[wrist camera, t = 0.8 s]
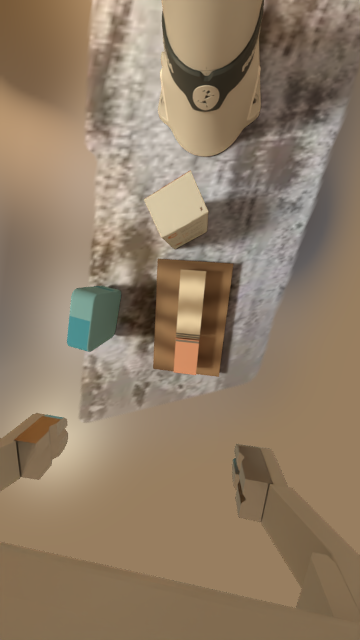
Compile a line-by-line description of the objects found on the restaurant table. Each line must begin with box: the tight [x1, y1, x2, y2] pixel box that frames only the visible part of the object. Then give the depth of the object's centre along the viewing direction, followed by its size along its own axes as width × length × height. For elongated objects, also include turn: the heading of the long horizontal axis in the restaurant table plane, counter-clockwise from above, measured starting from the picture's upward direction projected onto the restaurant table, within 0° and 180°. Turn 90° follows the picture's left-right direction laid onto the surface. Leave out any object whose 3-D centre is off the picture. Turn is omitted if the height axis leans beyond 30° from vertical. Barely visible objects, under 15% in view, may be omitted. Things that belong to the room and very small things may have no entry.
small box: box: [144, 171, 209, 249], centre depth 34 cm, size 8×6×13 cm
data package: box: [67, 286, 121, 352], centre depth 41 cm, size 12×4×12 cm, turn 166°
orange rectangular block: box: [174, 337, 199, 375], centre depth 43 cm, size 8×5×4 cm, turn 176°
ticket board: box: [153, 259, 233, 377], centre depth 42 cm, size 26×16×6 cm, turn 176°
